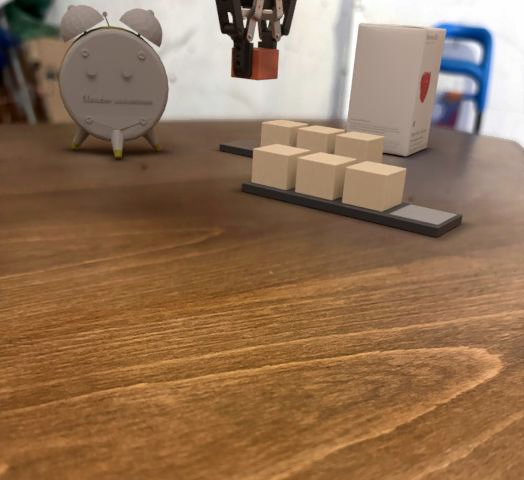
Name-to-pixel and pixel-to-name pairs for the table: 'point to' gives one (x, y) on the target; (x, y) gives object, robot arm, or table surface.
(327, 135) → the left rack
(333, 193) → the right rack
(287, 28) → the robot arm
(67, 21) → the alarm clock
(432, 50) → the white product box
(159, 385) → the table surface
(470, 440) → the table surface
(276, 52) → the orange block
